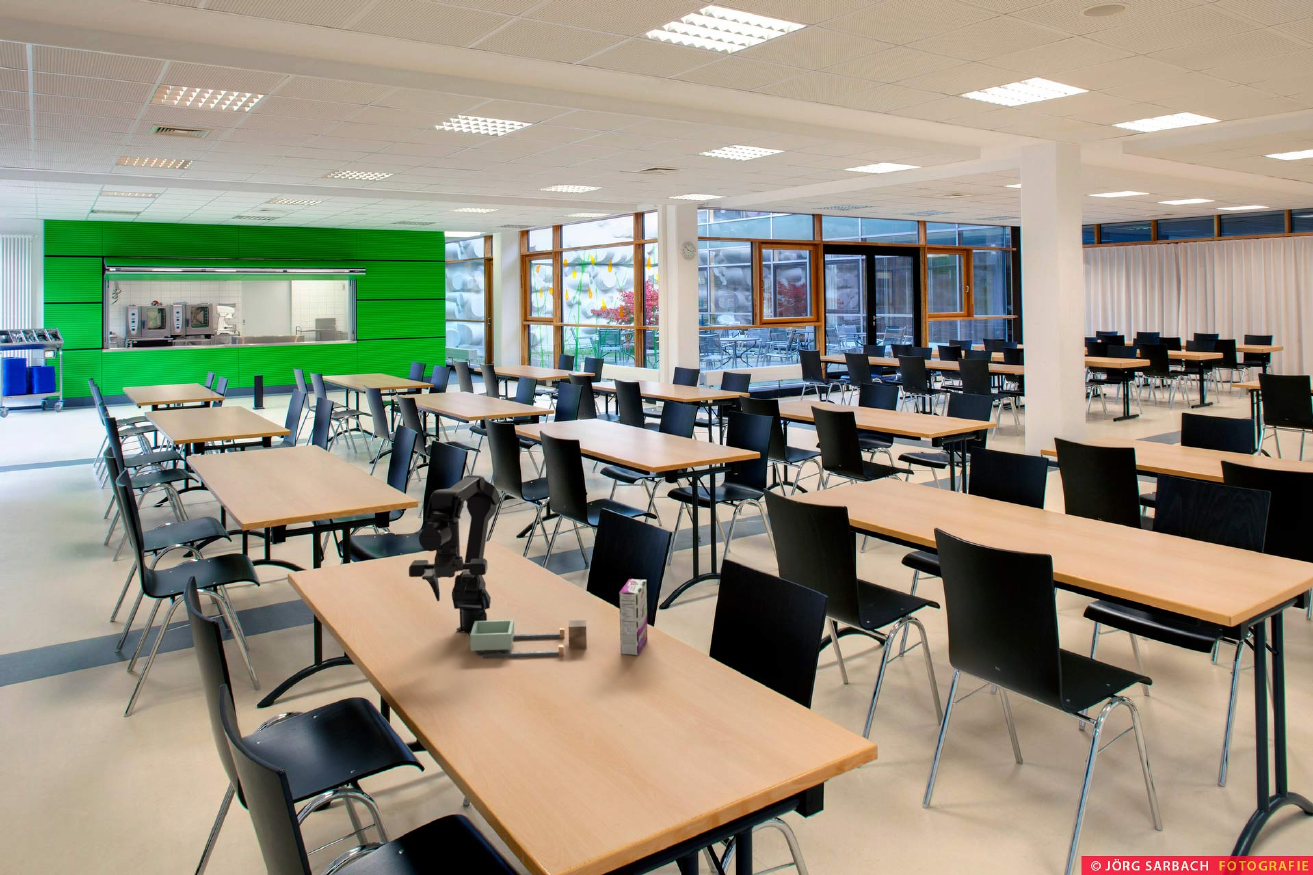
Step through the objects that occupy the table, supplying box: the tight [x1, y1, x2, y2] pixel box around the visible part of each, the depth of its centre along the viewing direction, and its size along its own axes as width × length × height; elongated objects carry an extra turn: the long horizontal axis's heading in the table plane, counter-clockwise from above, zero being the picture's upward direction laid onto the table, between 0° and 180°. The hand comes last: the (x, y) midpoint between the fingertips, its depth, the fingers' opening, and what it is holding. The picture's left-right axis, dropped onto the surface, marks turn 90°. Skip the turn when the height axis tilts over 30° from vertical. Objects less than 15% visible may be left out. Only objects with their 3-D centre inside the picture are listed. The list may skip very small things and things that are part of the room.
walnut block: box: [568, 619, 588, 650], centre depth 229 cm, size 4×4×6 cm
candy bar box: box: [618, 578, 648, 656], centre depth 227 cm, size 11×5×16 cm, turn 168°
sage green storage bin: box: [469, 619, 515, 655], centre depth 227 cm, size 10×10×5 cm
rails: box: [481, 627, 566, 660], centre depth 228 cm, size 20×13×2 cm, turn 95°
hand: (449, 600), depth 225 cm, fingers open, 5 cm apart
